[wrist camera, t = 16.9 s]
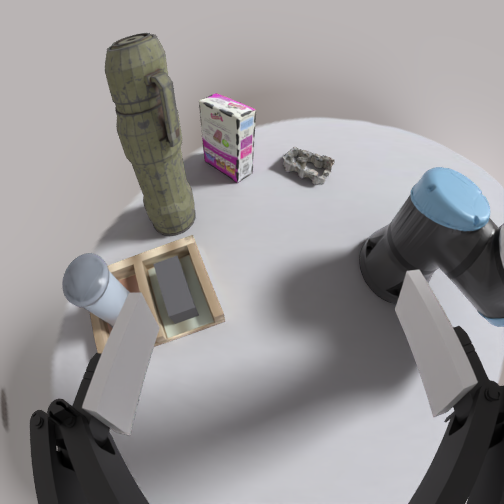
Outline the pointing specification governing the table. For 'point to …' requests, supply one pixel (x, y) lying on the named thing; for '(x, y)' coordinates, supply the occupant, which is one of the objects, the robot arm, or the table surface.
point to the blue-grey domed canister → (94, 287)
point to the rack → (145, 280)
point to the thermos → (150, 129)
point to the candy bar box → (228, 135)
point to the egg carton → (307, 157)
